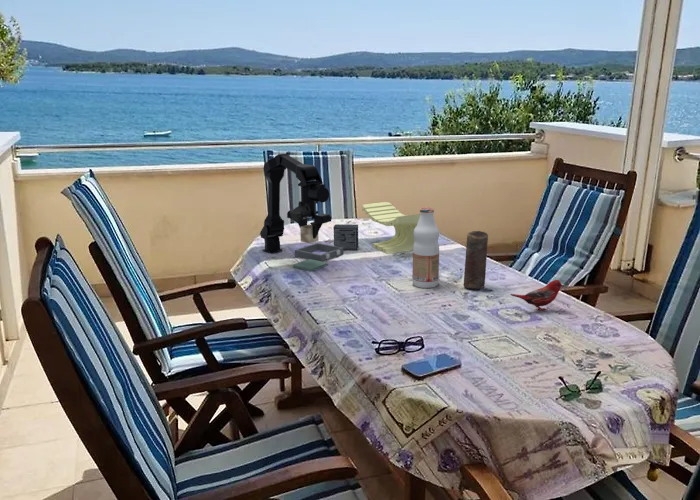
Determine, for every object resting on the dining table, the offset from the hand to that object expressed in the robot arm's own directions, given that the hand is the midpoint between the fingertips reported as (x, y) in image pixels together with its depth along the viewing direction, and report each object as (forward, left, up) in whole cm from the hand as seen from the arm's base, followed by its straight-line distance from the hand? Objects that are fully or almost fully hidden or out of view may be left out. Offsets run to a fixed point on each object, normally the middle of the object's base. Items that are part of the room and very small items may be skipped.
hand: (309, 237), depth 241 cm
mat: (0, 0, -12) cm, 12 cm away
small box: (-5, +29, -12) cm, 32 cm away
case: (-7, +13, -12) cm, 19 cm away
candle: (+65, +14, -12) cm, 68 cm away
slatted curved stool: (+12, +42, -12) cm, 46 cm away
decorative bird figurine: (+91, +5, -12) cm, 92 cm away
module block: (0, 0, -2) cm, 2 cm away
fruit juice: (+49, +7, -12) cm, 51 cm away
